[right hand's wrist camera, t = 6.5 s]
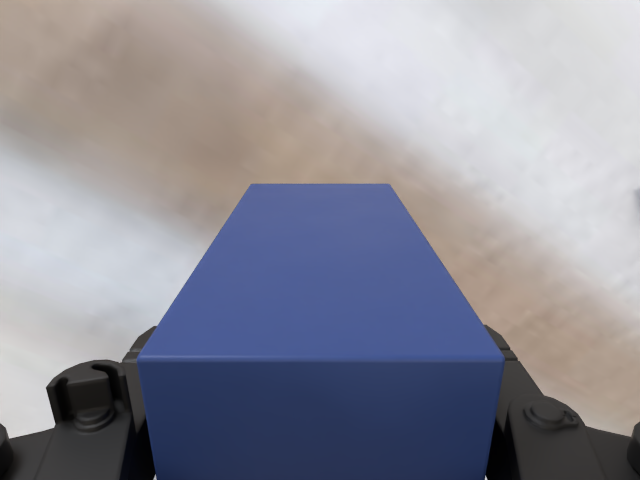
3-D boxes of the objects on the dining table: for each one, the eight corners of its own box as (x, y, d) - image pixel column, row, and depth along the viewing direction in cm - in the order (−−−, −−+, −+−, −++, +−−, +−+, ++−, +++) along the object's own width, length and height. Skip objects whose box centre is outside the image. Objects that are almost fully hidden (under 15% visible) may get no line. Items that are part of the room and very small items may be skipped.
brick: (390, 183, 16) (508, 358, 6) (382, 326, 18) (459, 633, 8) (250, 183, 16) (133, 358, 6) (258, 326, 18) (181, 633, 8)
